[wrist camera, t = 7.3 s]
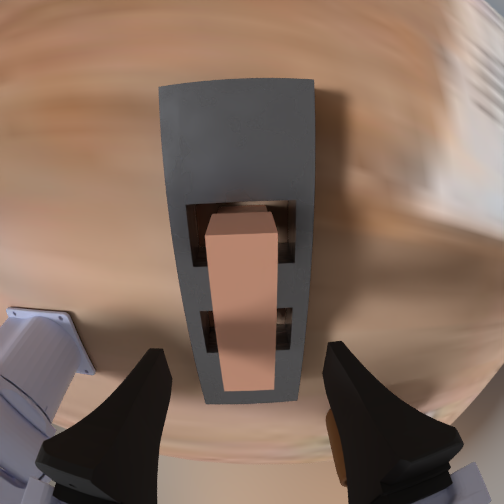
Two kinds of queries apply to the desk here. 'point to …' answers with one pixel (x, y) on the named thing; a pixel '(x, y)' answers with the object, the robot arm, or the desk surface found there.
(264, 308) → the tan tabbed block
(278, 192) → the grey slotted tapered plate
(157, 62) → the desk surface
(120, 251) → the desk surface
